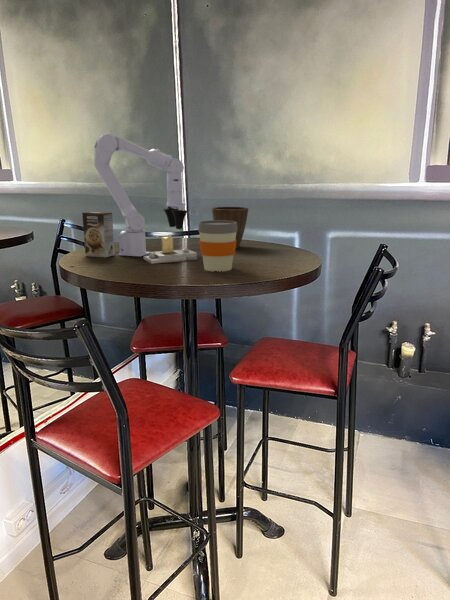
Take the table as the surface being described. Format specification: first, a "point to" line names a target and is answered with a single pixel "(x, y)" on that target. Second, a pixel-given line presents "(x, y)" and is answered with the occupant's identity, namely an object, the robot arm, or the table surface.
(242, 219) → the plant pot
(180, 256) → the square-hole plate
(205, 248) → the reusable coffee cup
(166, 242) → the brass pin
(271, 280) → the table surface
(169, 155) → the robot arm
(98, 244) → the coffee box
